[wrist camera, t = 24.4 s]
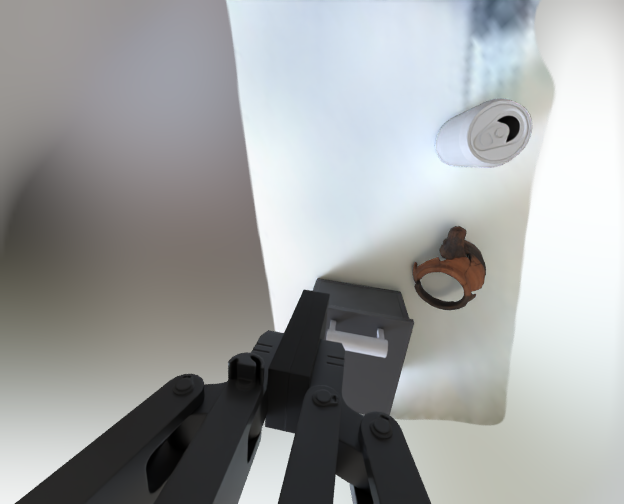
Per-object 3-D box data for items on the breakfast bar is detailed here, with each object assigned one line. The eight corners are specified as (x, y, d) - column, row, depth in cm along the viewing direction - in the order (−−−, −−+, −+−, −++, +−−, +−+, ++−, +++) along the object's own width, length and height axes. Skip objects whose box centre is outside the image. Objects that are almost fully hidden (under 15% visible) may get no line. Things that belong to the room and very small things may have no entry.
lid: (307, 301, 38) (299, 323, 33) (413, 319, 36) (420, 345, 31) (297, 395, 44) (289, 426, 39) (387, 415, 42) (391, 449, 37)
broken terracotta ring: (486, 285, 44) (477, 322, 39) (422, 275, 49) (407, 306, 44) (494, 214, 38) (485, 246, 33) (420, 211, 43) (403, 238, 38)
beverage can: (492, 150, 38) (548, 144, 27) (445, 175, 40) (479, 180, 29) (473, 105, 37) (523, 79, 26) (425, 133, 39) (452, 121, 28)
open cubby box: (317, 278, 48) (307, 304, 39) (400, 291, 46) (410, 321, 37) (307, 356, 52) (297, 395, 44) (383, 371, 51) (387, 414, 42)
